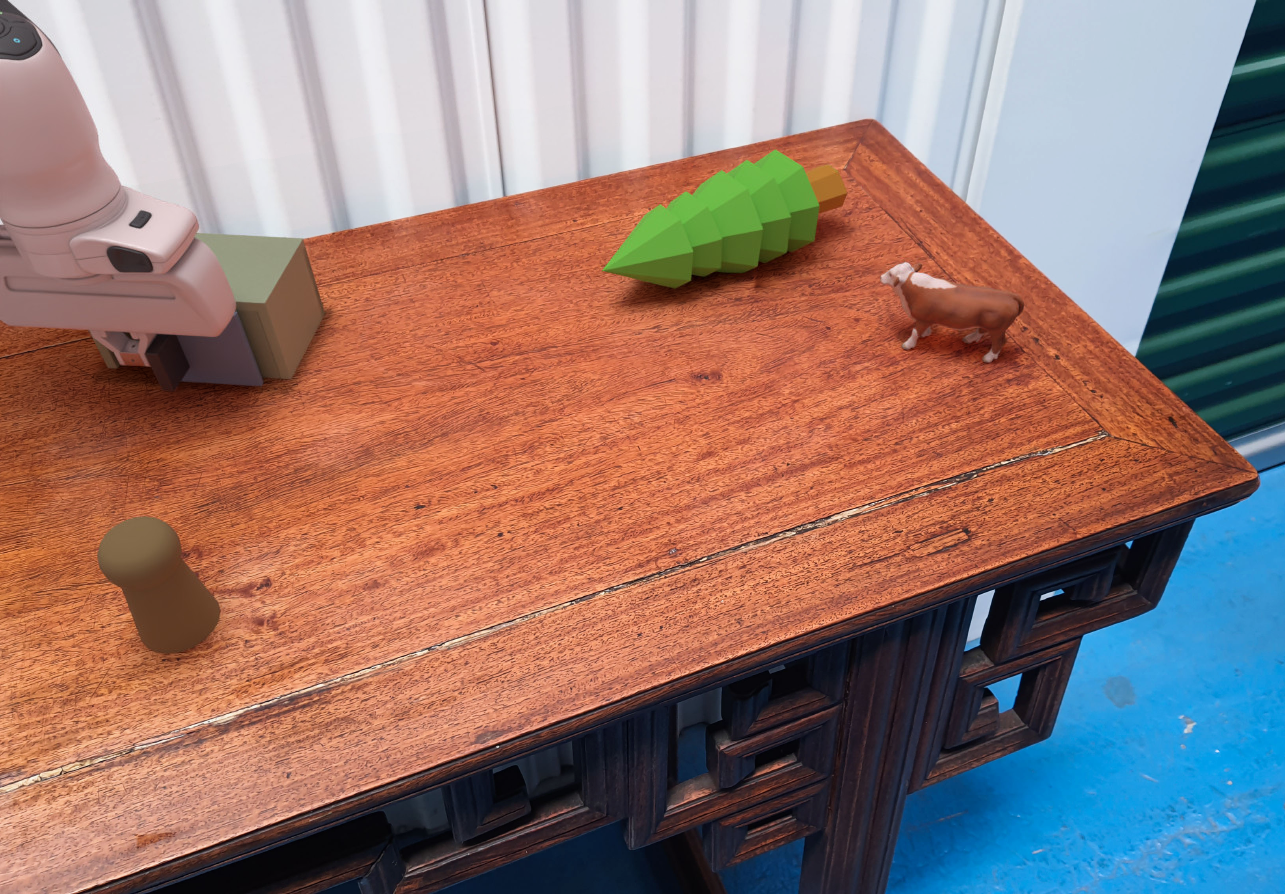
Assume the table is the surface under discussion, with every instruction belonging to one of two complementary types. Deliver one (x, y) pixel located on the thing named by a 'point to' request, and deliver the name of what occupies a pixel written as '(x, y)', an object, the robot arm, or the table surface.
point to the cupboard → (266, 298)
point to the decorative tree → (730, 222)
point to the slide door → (204, 358)
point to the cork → (158, 585)
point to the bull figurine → (953, 306)
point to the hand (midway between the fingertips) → (141, 361)
